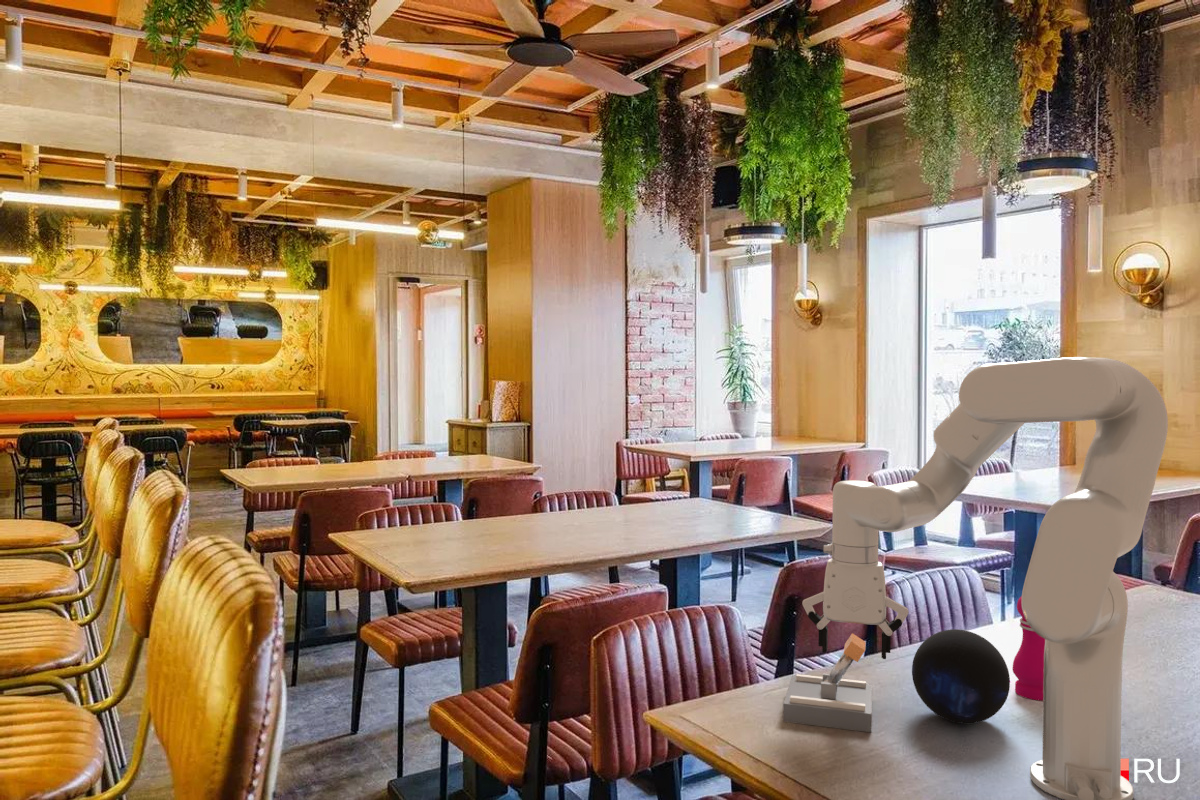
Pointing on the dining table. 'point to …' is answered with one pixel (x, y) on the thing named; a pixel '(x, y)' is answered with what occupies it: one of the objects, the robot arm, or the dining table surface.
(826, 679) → the lever
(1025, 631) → the pepper mill
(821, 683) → the switch panel
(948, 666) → the decorative sphere
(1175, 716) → the dining table surface
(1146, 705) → the dining table surface
